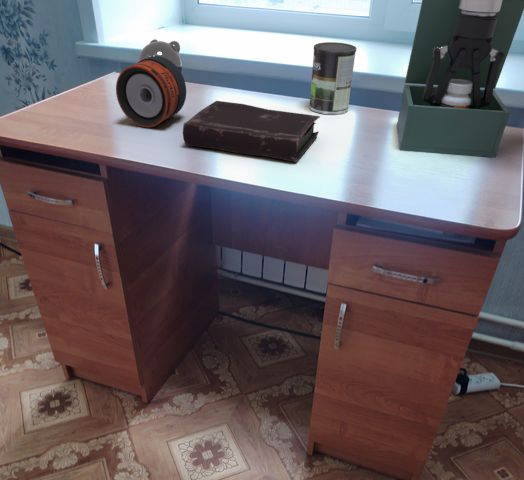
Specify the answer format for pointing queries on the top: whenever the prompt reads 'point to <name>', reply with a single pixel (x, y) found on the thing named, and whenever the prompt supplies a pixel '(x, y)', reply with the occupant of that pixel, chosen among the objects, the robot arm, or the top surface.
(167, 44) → the piggy bank
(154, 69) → the oil filter
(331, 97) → the coffee can
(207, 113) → the diary
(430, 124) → the chest
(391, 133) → the top surface
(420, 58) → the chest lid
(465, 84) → the pill bottle
